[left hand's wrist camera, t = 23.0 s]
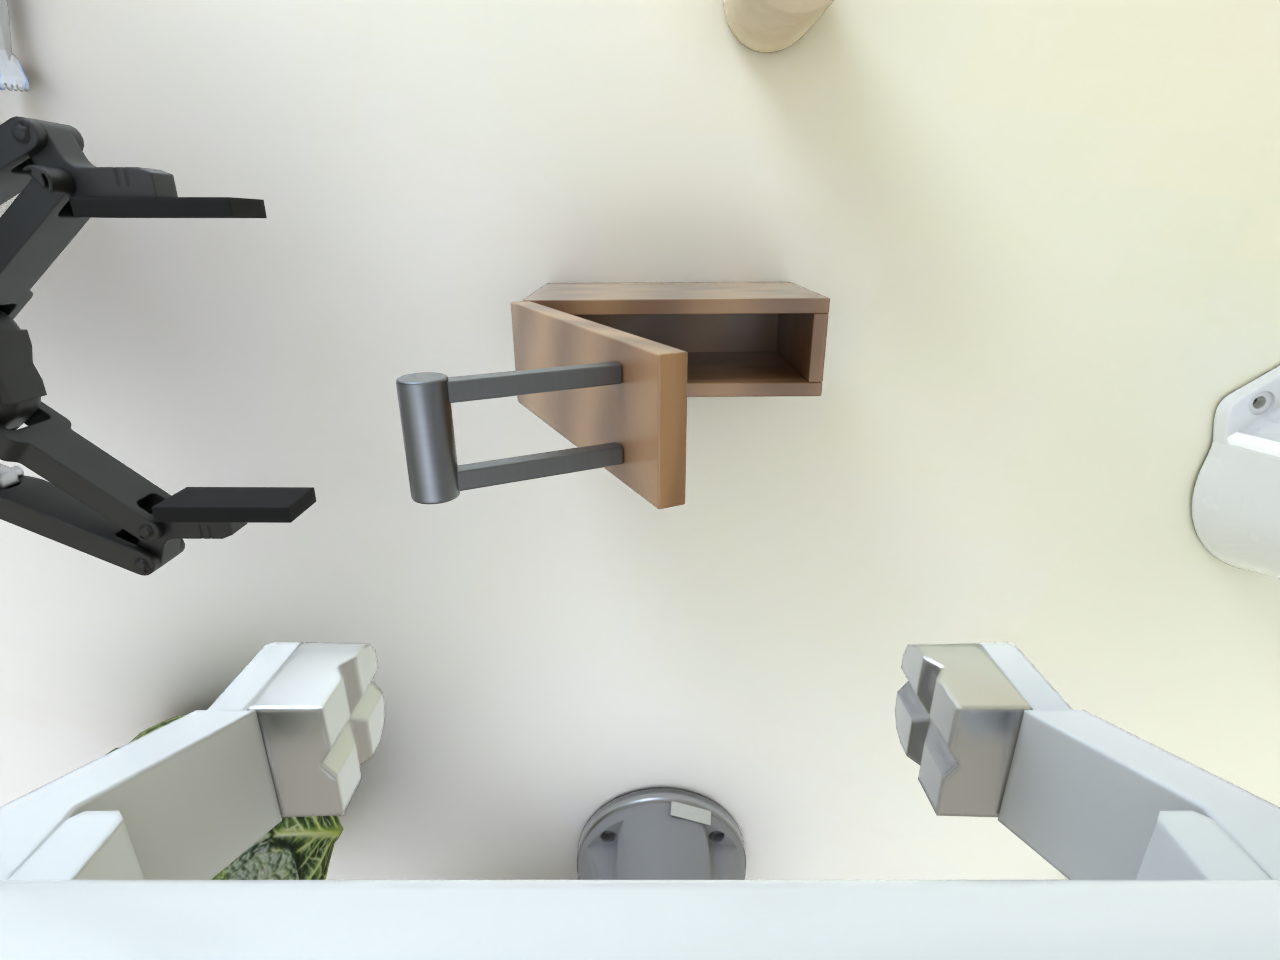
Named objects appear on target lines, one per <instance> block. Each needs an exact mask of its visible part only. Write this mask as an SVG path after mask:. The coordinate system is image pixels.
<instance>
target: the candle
mask: <svg viewBox="0 0 1280 960" xmlns="http://www.w3.org/2000/svg"><path fill="white" fill-rule="evenodd" d="M833 1H834V0H723V3H724V11H725V16H726V20H727V23H728V25H729V27H730V29H731V31H732V33H733V34H734V36H735V37H736V38H737V39H738V40H739V41H740V42H741V43H742V44H743V45H745V46H746V47H748V48H750V49H752V50H755V51H758V52H776V51H780V50H783V49H785V48H787V47H789V46H791V45H792V44H794V43H795V42H796V41H798V40H799V39H800V38H801V37H802V36H803V35H804V34H805V33H806V32H807V30H808V29H809V28H810V27H811V26H812V25H813V24H814V23H815V21H816V20H817V19H818V18H819V17H820V16H821V15H822V13H823V12H824V11H825V10H826V9H827V8H828V7H829V5H830V4H831V3H832V2H833Z"/></svg>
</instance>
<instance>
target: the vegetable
mask: <svg viewBox="0 0 1280 960" xmlns="http://www.w3.org/2000/svg"><path fill="white" fill-rule="evenodd" d="M183 716H185V715H182V716H177V717H175V718H172V719H169V720H166V721H164V722H161V723H159V724H157V725H155V726H153V727H150V728H148V729H146V730H145V731H143V732H141V733H140V734H139V735H138V736H137V737H135V738H134V739H133V740H132V741H131V742H133V741H135V740H137V739H139V738H141V737H143V736H145V735H147V734H149V733H151V732H153V731H155V730H157V729H159V728H161V727H163V726H165V725H167V724H169V723H171V722H173V721H175V720H177V719H179V718H181V717H183ZM131 742H130V743H131ZM117 749H119V748H115V749H114V750H112V751H111V752H113V751H115V750H117ZM111 752H109V753H111ZM109 753H107V754H109ZM107 754H106V755H107ZM104 756H105V755H104ZM342 830H343V828H342V826H341V824H340V822H339V819H338V816H304V817H282V821H281V822H280V823H278V824H277V825H276V826H275V827H274V828H272V829H271V830H270V831H269V832H268V833H266V834H265V835H264V836H263V837H262V838H260V839H259V840H258V841H257V842H256V843H254V844H253V845H252V846H251V847H250V848H248V849H247V850H246V851H245V852H244V853H242V854H241V855H240V856H239V857H238V858H236V859H235V860H234V861H233V862H232V863H230V864H229V865H228V866H227V867H226V868H224V869H223V870H222V871H221V872H220V873H218V874H217V875H216V876H215V877H214V878H212V879H211V880H325V879H326V875H327V871H328V866H329V862H330V858H331V855H332V851H333V847H334V843H335V841H336V840H337V839H338V838H339V836H340V835H341V833H342Z"/></svg>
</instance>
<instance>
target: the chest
mask: <svg viewBox="0 0 1280 960" xmlns="http://www.w3.org/2000/svg"><path fill="white" fill-rule="evenodd" d="M523 301H531V302H534V303H537V304H540V305H543V306H546V307H549V308H552V309H555V310H559V311H562V312H565V313H568V314H571V315H574V316H577V317H580V318H583V319H586V320H590V321H593V322H596V323H599V324H602V325H605V326H608V327H611V328H614V329H617V330H621V331H624V332H627V333H630V334H633V335H636V336H639V337H642V338H645V339H648V340H652V341H655V342H658V343H661V344H664V345H667V346H670V347H673V348H676V349H679V350H683V351H686V352H687V353H688V365H687V397H734V396H821V391H822V381H823V369H824V358H825V347H826V336H827V325H828V312H829V303H830V298H827V297H825V296H822V295H820V294H818V293H815V292H813V291H810V290H808V289H806V288H803V287H801V286H798V285H796V284H794V283H791V282H681V283H548V284H546V285H544V286H543V287H542V288H540V289H539V290H537V291H536V292H534V293H533V294H531V295H530V296H528V297H527V298H526V299H524V300H523Z"/></svg>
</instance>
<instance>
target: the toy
mask: <svg viewBox="0 0 1280 960" xmlns="http://www.w3.org/2000/svg"><path fill="white" fill-rule="evenodd" d="M6 88H8V90H10V91H12V90H13V89H14V90H15V91H18V89H19V90H20V91H23V90H24V91H28V90H29V89H30V84H29V82H28V79H27V77H26V75H25V73H24V71H23V68H22V66H21V64H20V62H19V60H18V59H17V57H16V56H15V55H14V54H13V53H12V49H11V36H10V24H9V12H8V6H7V0H0V90H5V89H6Z"/></svg>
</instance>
